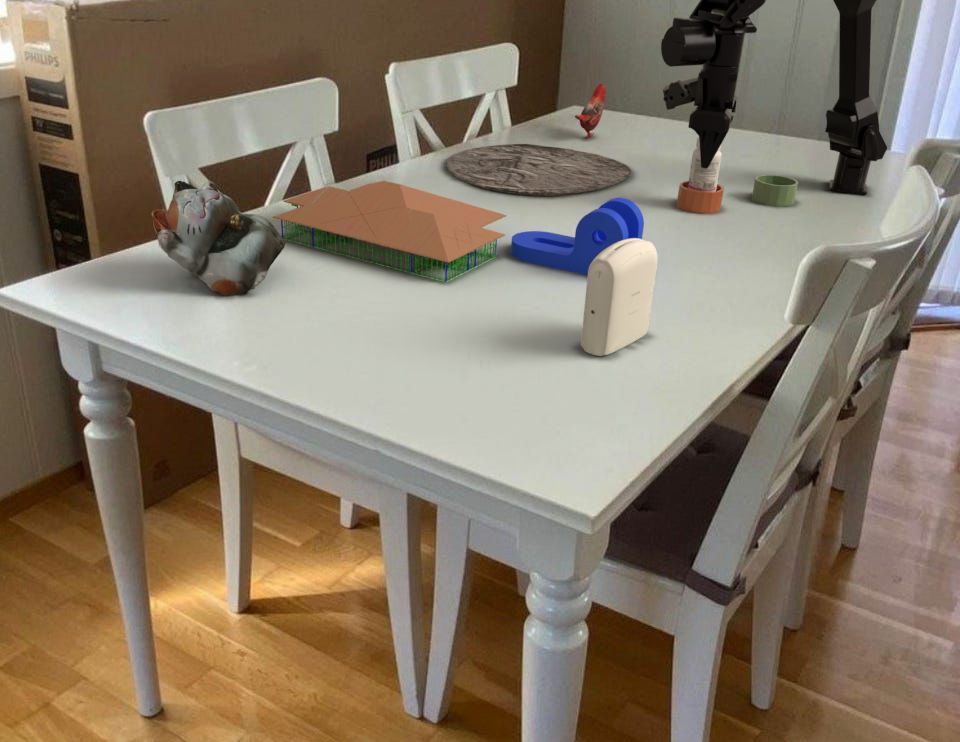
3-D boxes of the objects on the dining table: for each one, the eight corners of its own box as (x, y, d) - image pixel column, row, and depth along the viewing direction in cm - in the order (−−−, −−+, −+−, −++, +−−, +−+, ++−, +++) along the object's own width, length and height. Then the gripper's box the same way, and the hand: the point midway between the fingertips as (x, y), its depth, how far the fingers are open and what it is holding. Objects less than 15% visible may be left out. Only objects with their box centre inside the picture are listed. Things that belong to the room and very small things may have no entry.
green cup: (752, 192, 183) (756, 172, 181) (794, 197, 181) (798, 177, 180) (750, 203, 177) (754, 182, 175) (793, 208, 175) (797, 187, 174)
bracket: (638, 264, 147) (646, 202, 142) (617, 281, 140) (625, 216, 136) (525, 241, 153) (530, 180, 149) (501, 256, 147) (504, 193, 142)
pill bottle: (691, 184, 175) (699, 133, 170) (719, 189, 173) (727, 137, 168) (684, 191, 171) (691, 139, 166) (711, 195, 169) (720, 143, 165)
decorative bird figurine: (606, 132, 218) (611, 83, 213) (578, 149, 205) (583, 96, 199) (593, 130, 219) (598, 81, 214) (565, 147, 205) (569, 94, 200)
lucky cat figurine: (246, 304, 127) (179, 207, 119) (183, 319, 134) (116, 229, 126) (303, 238, 136) (245, 144, 128) (242, 256, 143) (182, 167, 135)
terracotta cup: (679, 198, 177) (682, 178, 175) (721, 204, 176) (725, 183, 174) (674, 210, 171) (677, 189, 169) (718, 215, 170) (722, 194, 168)
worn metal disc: (413, 178, 180) (413, 175, 180) (487, 139, 208) (487, 137, 207) (595, 206, 170) (595, 204, 170) (646, 161, 198) (647, 159, 198)
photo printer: (604, 360, 118) (617, 256, 111) (574, 349, 120) (585, 246, 114) (652, 336, 125) (666, 236, 118) (622, 326, 127) (635, 228, 120)
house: (354, 201, 167) (354, 149, 163) (531, 242, 153) (535, 188, 149) (259, 235, 150) (255, 178, 146) (447, 285, 136) (449, 225, 132)
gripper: (677, 50, 171) (664, 146, 179) (663, 68, 155) (649, 172, 164) (744, 56, 168) (728, 153, 177) (737, 75, 153) (720, 180, 161)
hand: (705, 164), depth 170 cm, fingers closed on pill bottle, 5 cm apart
